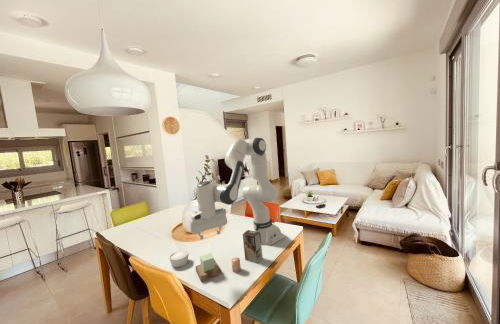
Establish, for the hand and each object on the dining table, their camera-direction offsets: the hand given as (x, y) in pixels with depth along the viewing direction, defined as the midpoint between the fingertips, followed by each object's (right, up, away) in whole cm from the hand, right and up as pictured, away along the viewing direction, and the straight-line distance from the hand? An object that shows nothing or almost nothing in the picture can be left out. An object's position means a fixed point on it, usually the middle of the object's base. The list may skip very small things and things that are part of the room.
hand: (210, 236), depth 114 cm
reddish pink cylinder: (+14, -19, +2) cm, 24 cm away
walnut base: (-1, -21, +2) cm, 21 cm away
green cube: (-2, -18, +1) cm, 18 cm away
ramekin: (-21, -21, +14) cm, 33 cm away
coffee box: (+24, -18, +11) cm, 32 cm away
